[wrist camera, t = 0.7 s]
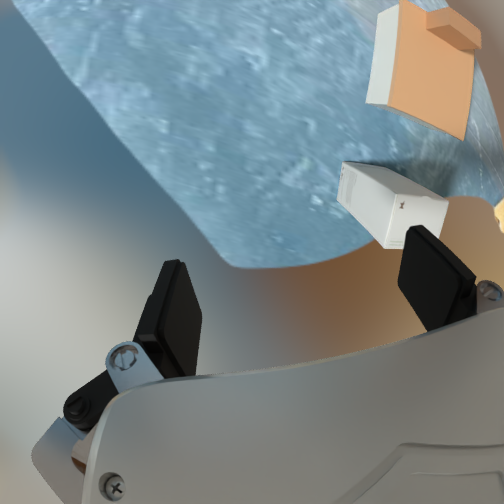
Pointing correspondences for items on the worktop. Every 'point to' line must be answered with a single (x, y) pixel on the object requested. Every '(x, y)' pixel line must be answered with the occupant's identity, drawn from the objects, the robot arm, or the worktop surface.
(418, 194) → the skincare box
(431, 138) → the worktop surface
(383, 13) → the tub
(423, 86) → the lid
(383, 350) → the robot arm
